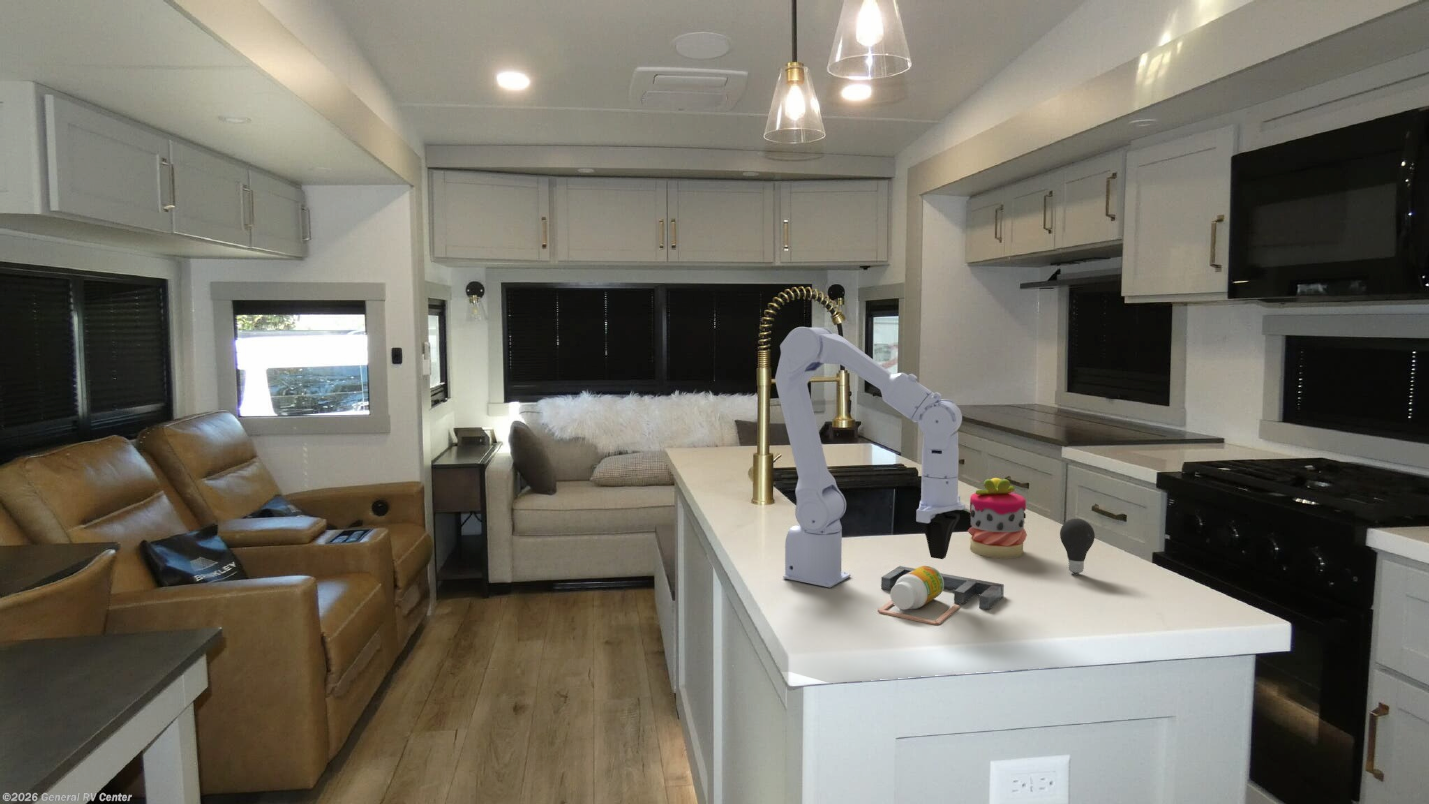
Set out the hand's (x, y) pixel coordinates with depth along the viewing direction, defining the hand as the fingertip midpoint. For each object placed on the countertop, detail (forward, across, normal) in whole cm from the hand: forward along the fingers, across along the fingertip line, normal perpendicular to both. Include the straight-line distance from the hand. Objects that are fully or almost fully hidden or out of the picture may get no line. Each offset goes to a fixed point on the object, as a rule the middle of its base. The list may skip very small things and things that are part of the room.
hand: (938, 557), depth 132 cm
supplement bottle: (+4, -1, +1) cm, 4 cm away
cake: (+7, +32, 0) cm, 33 cm away
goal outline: (+6, -8, 0) cm, 10 cm away
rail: (+6, +1, 0) cm, 6 cm away
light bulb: (+7, +25, -16) cm, 30 cm away
